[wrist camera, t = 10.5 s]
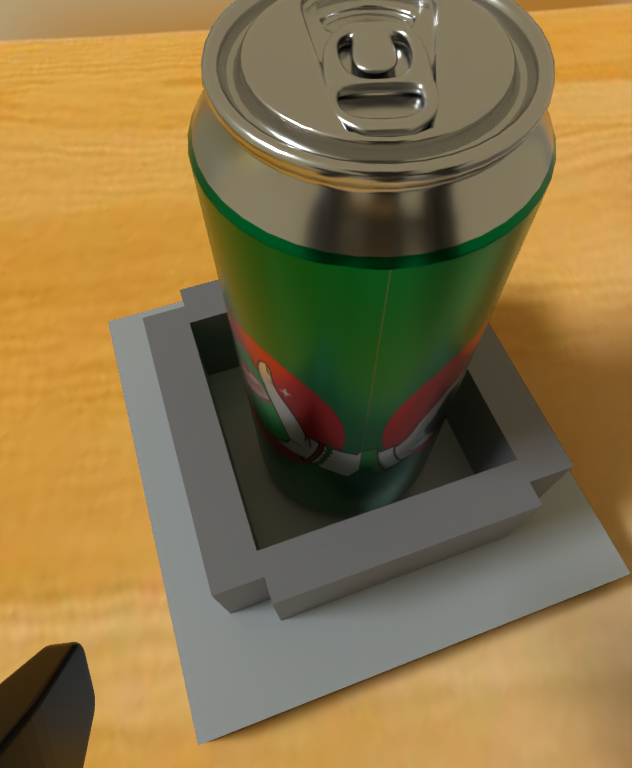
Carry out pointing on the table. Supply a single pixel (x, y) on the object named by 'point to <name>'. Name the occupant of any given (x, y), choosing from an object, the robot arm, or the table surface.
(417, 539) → the socket
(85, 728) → the robot arm
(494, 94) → the soda can
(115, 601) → the table surface
